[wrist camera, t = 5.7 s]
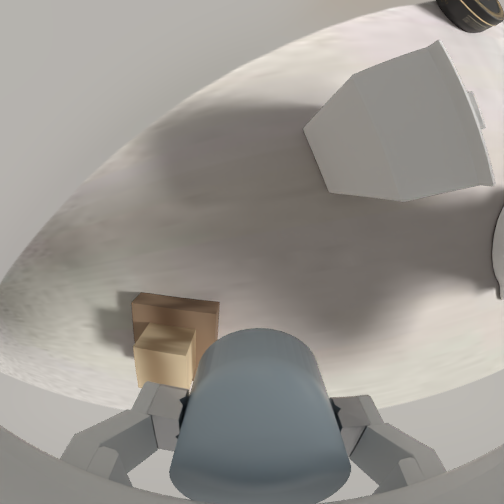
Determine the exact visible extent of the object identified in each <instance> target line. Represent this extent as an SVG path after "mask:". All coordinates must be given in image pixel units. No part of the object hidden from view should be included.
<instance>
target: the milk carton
mask: <svg viewBox="0 0 504 504" xmlns="http://www.w3.org/2000/svg"><path fill="white" fill-rule="evenodd" d="M484 128H486V125H485V122H484V119H483V116H482V113H481V110H480V108H479V105H478V102H477V100H476V97H475V95H474V93H473V92H472V91H469V92H467V90H466V88H465V86H464V84H463V81H462V79H461V77H460V75H459V73H458V71H457V69H456V67H455V65H454V63H453V61H452V59H451V57H450V55H449V53H448V51H447V49H446V48H445V46H444V44H443V42H442V41H441V40H437V41H436V42H434V43H433V44H431V45H430V46H428V47H426V48H423V49H420V50H417V51H414V52H411V53H408V54H405V55H402V56H399V57H396V58H394V59H391V60H388V61H385V62H383V63H380V64H378V65H375V66H373V67H370V68H368V69H365V70H363V71H360V72H358V73H356V74H353V75H352V76H351V77H350V78H349V79H348V80H347V81H346V82H345V84H344V85H343V86H342V87H341V88H340V89H339V90H338V91H337V92H336V93H335V94H334V95H333V96H332V97H331V98H330V99H329V101H328V102H327V103H326V104H325V105H324V106H323V107H322V108H321V109H320V110H319V111H318V112H317V114H316V115H315V116H314V117H313V118H312V119H311V120H310V121H309V122H308V123H307V125H306V126H305V127H304V128H303V131H304V133H305V136H306V138H307V140H308V143H309V145H310V147H311V150H312V152H313V154H314V157H315V159H316V161H317V164H318V166H319V169H320V171H321V174H322V176H323V179H324V181H325V184H326V186H327V189H328V191H329V193H335V194H345V195H354V196H363V197H371V198H379V199H386V200H394V201H401V202H406V201H411V200H415V199H419V198H424V197H428V196H433V195H437V194H442V193H447V192H451V191H456V190H460V189H465V188H470V187H474V186H479V185H483V186H495V178H494V174H493V170H492V165H491V161H490V158H489V154H488V150H487V147H486V143H485V140H484V137H483V134H482V130H481V129H484Z"/></svg>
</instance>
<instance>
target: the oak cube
mask: <svg viewBox="0 0 504 504" xmlns="http://www.w3.org/2000/svg"><path fill="white" fill-rule="evenodd" d="M133 352H134V360H135V367H136V374H137V380H138V387H139V388H142V387H143V385H144V383H145V382H147V381H150V382H154V383H158V384H165V385H170V386H175V387H180V388H185V389H190V386H191V382H192V379H193V375H194V372H195V368H196V329H190V328H183V327H175V326H169V325H162V324H156V323H149V324H148V326H147V327H146V329H145V330H144V332H143V333H142V334H141V336H140V337H139V339H138V340H137V342H136V343H135V345H134V346H133Z"/></svg>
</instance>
